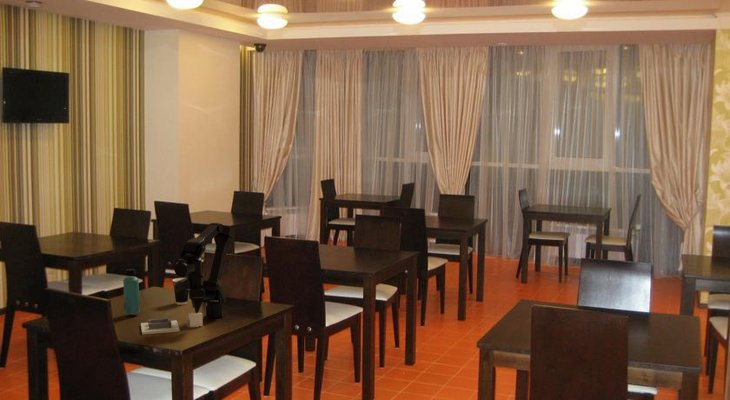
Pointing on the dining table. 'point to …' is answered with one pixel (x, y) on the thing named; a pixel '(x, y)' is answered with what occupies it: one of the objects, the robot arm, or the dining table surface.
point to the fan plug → (195, 319)
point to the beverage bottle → (131, 293)
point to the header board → (159, 326)
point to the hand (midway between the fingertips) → (195, 310)
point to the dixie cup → (180, 294)
